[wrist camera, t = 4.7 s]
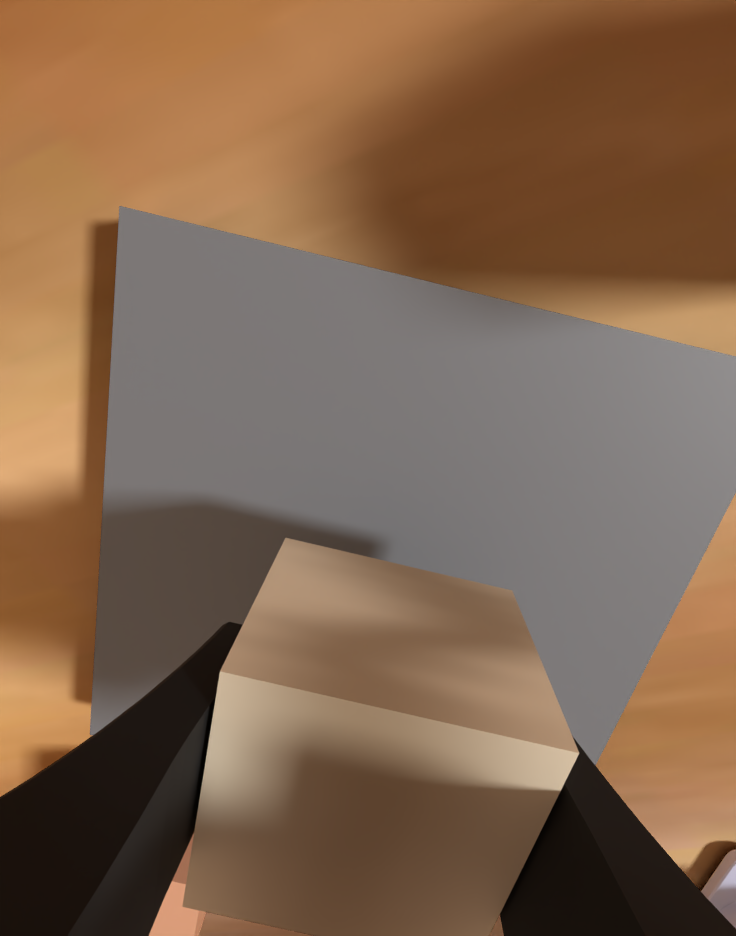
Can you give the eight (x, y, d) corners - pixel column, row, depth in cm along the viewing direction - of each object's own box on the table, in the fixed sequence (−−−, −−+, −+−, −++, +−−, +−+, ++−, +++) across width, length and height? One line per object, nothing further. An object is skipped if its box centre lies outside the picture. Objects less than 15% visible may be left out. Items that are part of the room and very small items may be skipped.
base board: (752, 364, 12) (797, 372, 11) (543, 797, 18) (557, 840, 16) (151, 218, 12) (119, 205, 11) (115, 699, 17) (89, 734, 16)
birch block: (512, 590, 10) (579, 753, 7) (448, 759, 12) (472, 970, 8) (285, 537, 10) (219, 672, 6) (251, 715, 12) (182, 906, 8)
